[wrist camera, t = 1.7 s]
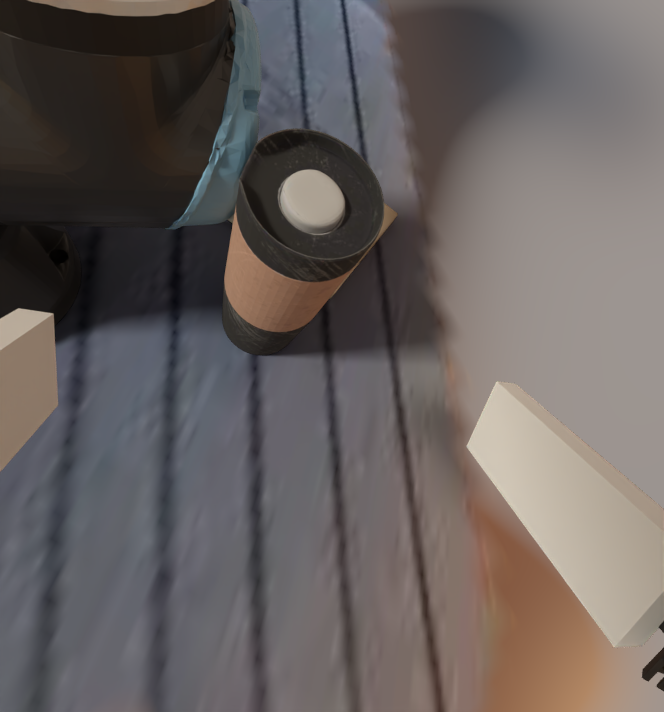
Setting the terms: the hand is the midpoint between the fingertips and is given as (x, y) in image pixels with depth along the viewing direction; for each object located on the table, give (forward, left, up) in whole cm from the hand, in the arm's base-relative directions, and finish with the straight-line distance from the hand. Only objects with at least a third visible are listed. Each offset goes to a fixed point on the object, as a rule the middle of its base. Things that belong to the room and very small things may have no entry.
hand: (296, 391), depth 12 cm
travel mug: (-7, +11, -24) cm, 27 cm away
